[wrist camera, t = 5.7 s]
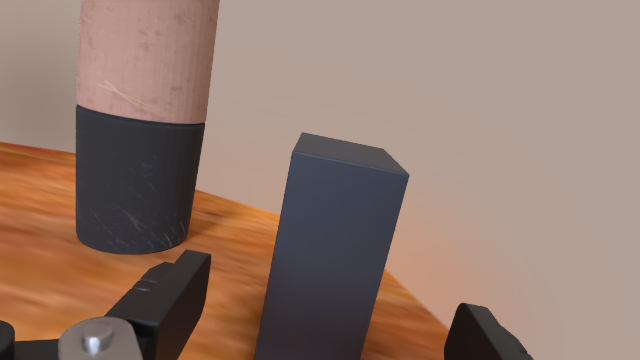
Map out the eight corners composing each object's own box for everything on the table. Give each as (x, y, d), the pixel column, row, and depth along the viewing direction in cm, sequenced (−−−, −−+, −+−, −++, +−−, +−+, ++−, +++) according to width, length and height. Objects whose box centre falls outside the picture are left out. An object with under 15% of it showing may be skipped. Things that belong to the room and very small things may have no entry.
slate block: (251, 372, 16) (292, 150, 13) (270, 296, 22) (301, 132, 19) (351, 390, 16) (410, 174, 14) (344, 309, 22) (384, 148, 19)
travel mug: (41, 232, 23) (47, -126, 19) (133, 204, 31) (155, -59, 26) (138, 269, 21) (172, -117, 17) (211, 230, 29) (250, -48, 24)
